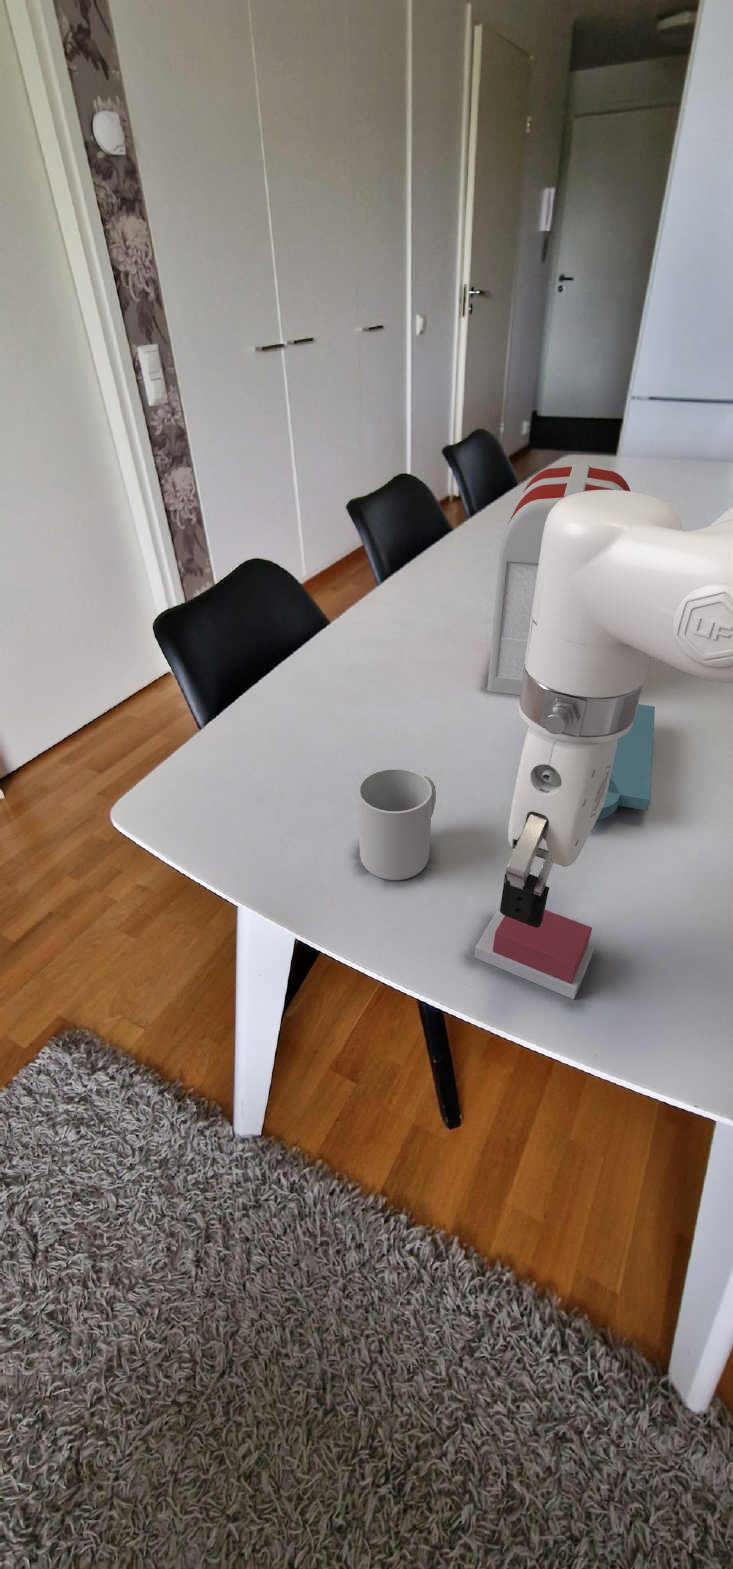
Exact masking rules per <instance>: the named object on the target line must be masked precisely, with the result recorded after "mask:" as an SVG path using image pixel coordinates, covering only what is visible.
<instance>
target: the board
mask: <svg viewBox="0 0 733 1569" xmlns="http://www.w3.org/2000/svg"><path fill="white" fill-rule="evenodd" d="M655 711H656V707H655V705H647V704H640V703H638V707H637V711H636V715H635V718H634V722H633V726H632V728H631V730H630V731H629V732H628V733H627V734H626V735H624V736H622V737H620V738H619V739H618V742H617V747H616V752H615V757H614V762H613V767H612V772H611V777H610V782H609V787H608V792H607V796H606V800H605V803H604V805H603V808H602V810H601V812H600V814H599V816H598V818H597V820H603V819H605V818H607V817H610V816H611V815H613V814H614V813H615V812H616V811H617V809H618V807H621V808H626V809H631V810H634V809H636V810H640V811H641V810H642V811H648V809H649V805H650V802H651V791H652V790H651V788H652V769H653V752H654V751H653V750H654V733H655V731H654V730H655V714H656V713H655Z"/></svg>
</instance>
